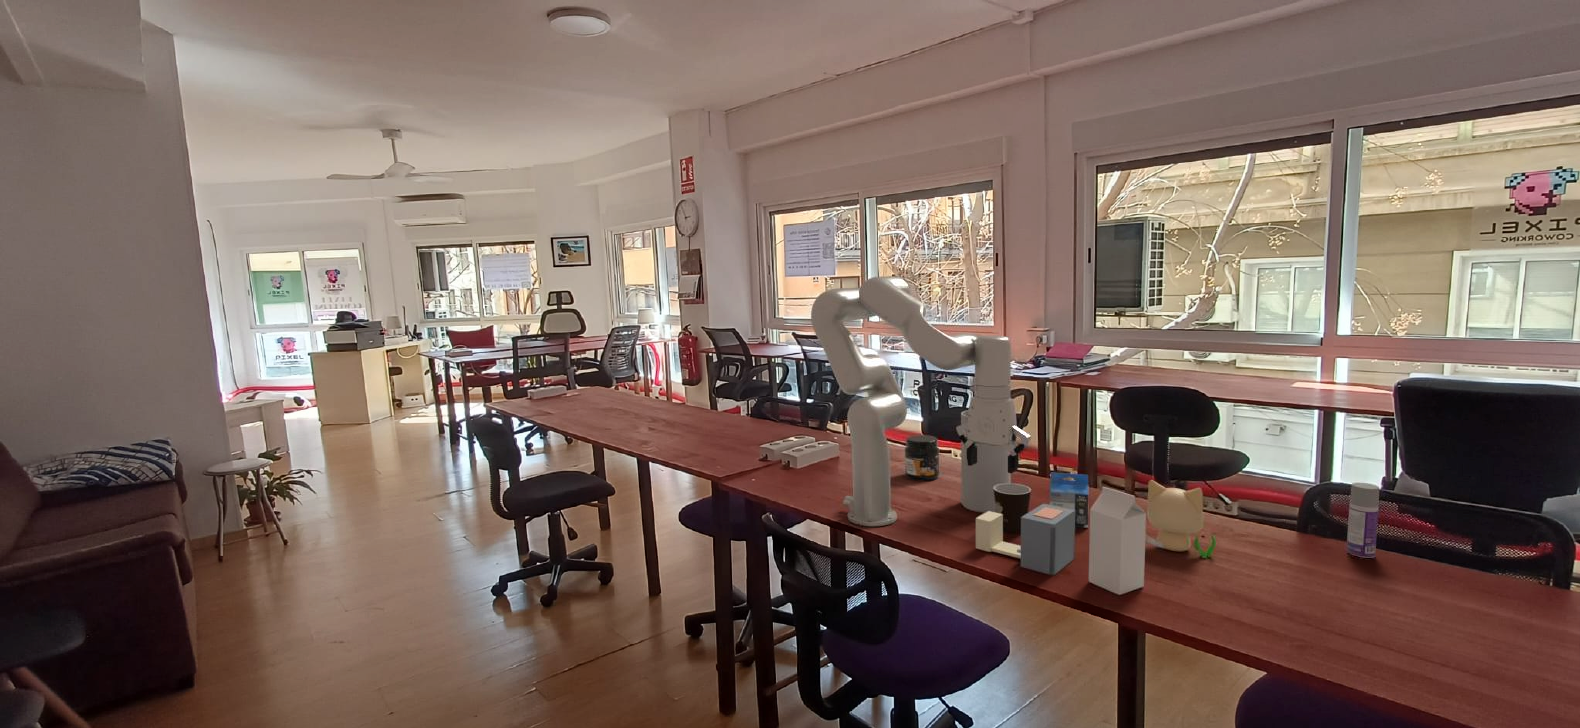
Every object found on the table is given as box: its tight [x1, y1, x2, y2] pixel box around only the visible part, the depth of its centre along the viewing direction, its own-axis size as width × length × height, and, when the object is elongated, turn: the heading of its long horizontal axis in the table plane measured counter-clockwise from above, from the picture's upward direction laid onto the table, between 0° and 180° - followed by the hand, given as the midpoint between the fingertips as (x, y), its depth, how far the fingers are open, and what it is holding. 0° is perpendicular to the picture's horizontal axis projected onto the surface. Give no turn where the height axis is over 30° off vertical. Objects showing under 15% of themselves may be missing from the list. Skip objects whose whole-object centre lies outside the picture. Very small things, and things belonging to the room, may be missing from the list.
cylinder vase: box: [960, 409, 1012, 514], centre depth 184 cm, size 12×12×25 cm
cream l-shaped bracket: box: [975, 511, 1021, 560], centre depth 152 cm, size 17×6×7 cm, turn 47°
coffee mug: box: [993, 482, 1032, 535], centre depth 169 cm, size 12×9×10 cm
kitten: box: [1145, 479, 1217, 559], centre depth 152 cm, size 15×10×15 cm, turn 47°
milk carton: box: [1088, 486, 1147, 596], centre depth 136 cm, size 7×7×19 cm
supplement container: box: [904, 434, 940, 481], centre depth 213 cm, size 10×10×12 cm
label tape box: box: [1048, 472, 1090, 529], centre depth 169 cm, size 9×4×12 cm, turn 68°
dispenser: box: [1017, 503, 1076, 577], centre depth 148 cm, size 8×11×11 cm
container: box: [1346, 482, 1380, 559], centre depth 146 cm, size 5×5×15 cm
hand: (992, 468), depth 155 cm, fingers open, 9 cm apart
